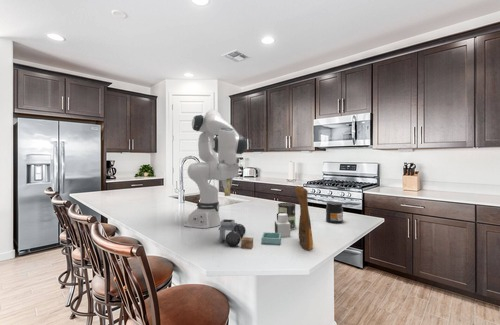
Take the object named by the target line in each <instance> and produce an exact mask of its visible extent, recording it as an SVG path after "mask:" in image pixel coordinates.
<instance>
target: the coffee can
mask: <svg viewBox="0 0 500 325" xmlns="http://www.w3.org/2000/svg"><path fill="white" fill-rule="evenodd" d="M277 208H278V209H277V213H280V212H285V213H287V214H288V222H289V223H290V231H292V230H293V231H294V230H296V203H293V202H280V203H278V204H277Z"/></svg>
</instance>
